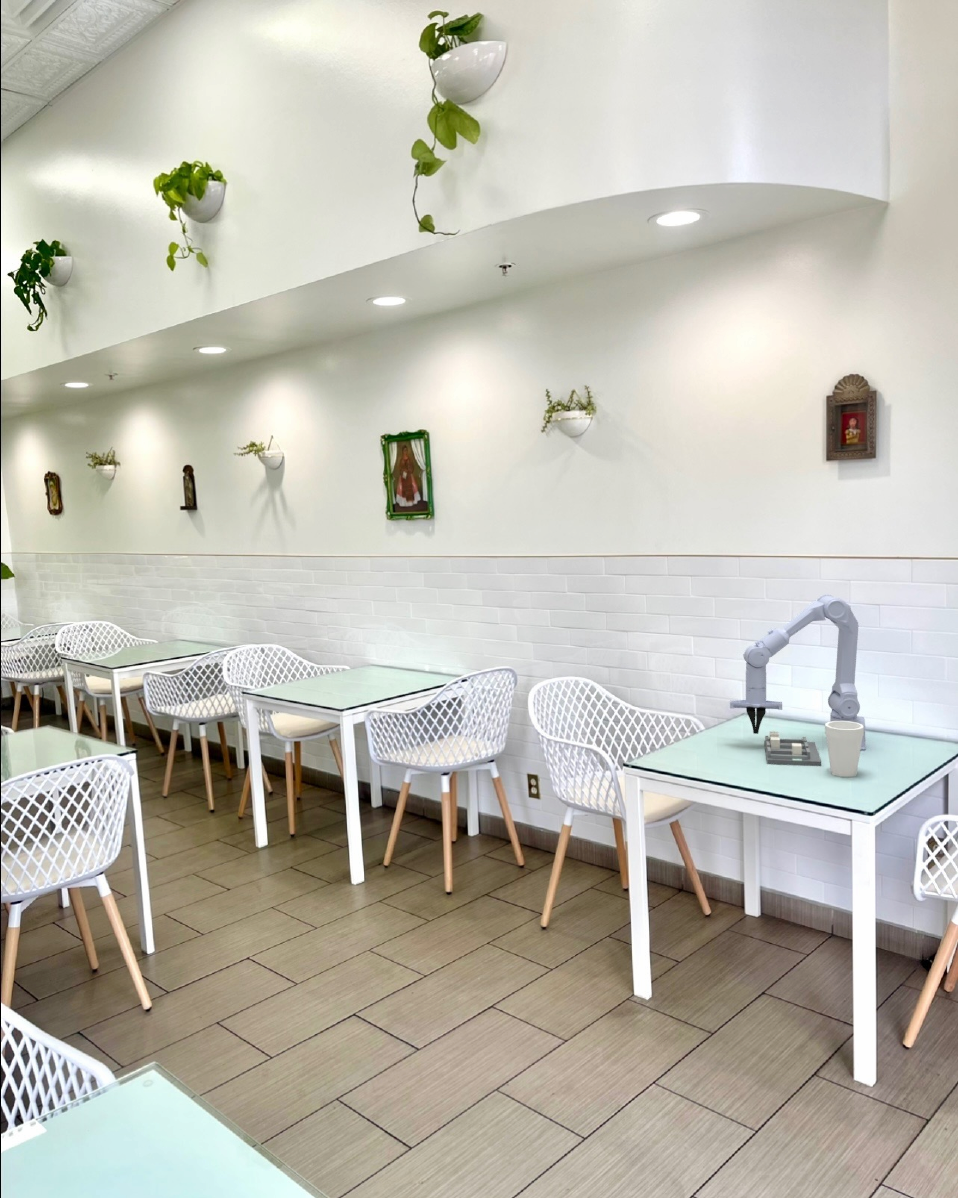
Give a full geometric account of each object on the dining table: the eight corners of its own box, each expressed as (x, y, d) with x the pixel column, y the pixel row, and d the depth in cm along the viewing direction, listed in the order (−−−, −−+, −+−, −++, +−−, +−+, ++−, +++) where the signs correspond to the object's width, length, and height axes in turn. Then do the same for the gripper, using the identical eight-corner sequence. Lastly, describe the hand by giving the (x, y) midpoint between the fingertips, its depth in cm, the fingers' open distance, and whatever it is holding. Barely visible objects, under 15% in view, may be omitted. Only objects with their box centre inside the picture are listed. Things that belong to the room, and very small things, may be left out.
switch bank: (814, 746, 275) (814, 735, 275) (821, 766, 256) (821, 754, 256) (764, 744, 279) (764, 734, 278) (767, 764, 260) (767, 752, 259)
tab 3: (800, 754, 262) (800, 743, 262) (801, 757, 260) (801, 746, 259) (791, 754, 263) (791, 743, 263) (792, 757, 260) (792, 746, 260)
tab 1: (778, 742, 275) (778, 731, 275) (778, 745, 272) (778, 734, 272) (769, 742, 276) (769, 731, 276) (769, 745, 273) (769, 734, 273)
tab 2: (779, 748, 270) (779, 737, 269) (779, 751, 267) (779, 740, 266) (770, 747, 270) (770, 737, 270) (770, 750, 267) (770, 739, 267)
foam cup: (865, 779, 243) (865, 730, 242) (827, 778, 246) (827, 729, 244) (859, 768, 253) (860, 721, 251) (822, 767, 255) (823, 720, 253)
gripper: (730, 689, 272) (730, 735, 273) (783, 690, 268) (782, 737, 269) (730, 684, 278) (729, 729, 280) (781, 685, 275) (781, 731, 276)
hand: (755, 732), depth 275 cm, fingers closed
